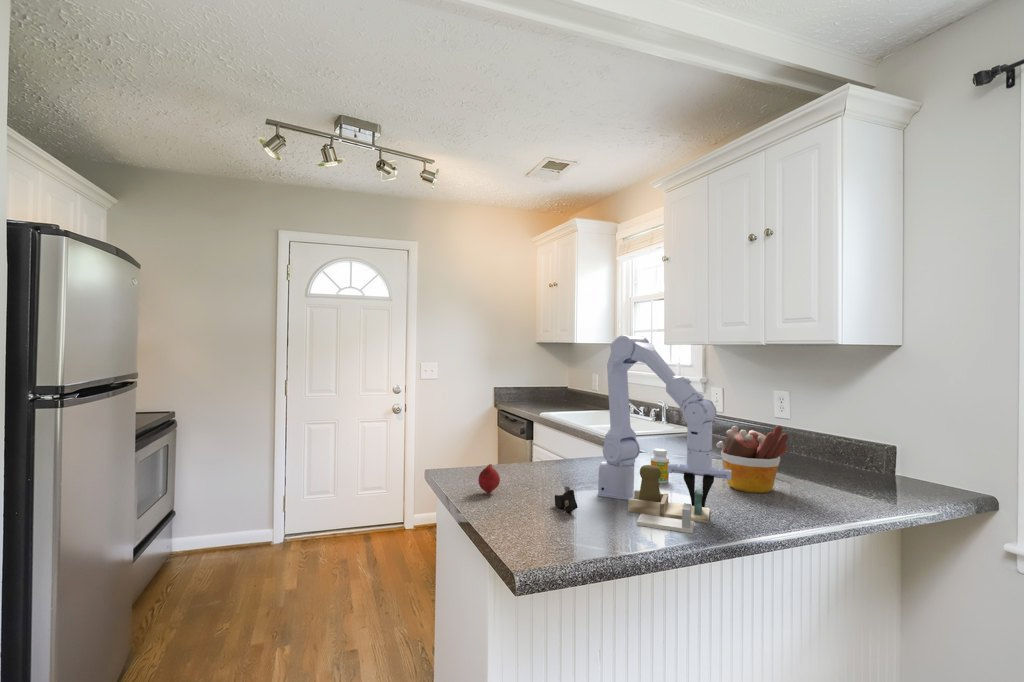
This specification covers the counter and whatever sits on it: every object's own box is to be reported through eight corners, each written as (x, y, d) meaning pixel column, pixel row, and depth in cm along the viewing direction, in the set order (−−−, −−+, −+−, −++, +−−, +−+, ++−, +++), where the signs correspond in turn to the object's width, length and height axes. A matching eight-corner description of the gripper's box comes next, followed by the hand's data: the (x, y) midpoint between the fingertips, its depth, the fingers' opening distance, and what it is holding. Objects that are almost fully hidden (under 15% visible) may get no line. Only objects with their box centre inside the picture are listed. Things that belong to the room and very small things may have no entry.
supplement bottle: (656, 483, 153) (657, 451, 154) (647, 479, 159) (647, 448, 159) (672, 483, 155) (672, 451, 155) (662, 478, 160) (662, 447, 160)
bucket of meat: (705, 482, 156) (706, 418, 157) (743, 478, 163) (744, 416, 163) (760, 501, 138) (761, 427, 138) (801, 495, 145) (802, 425, 145)
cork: (659, 506, 130) (659, 463, 131) (664, 513, 124) (665, 468, 125) (635, 505, 131) (636, 462, 131) (639, 512, 125) (640, 467, 125)
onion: (489, 497, 134) (490, 467, 134) (473, 493, 138) (474, 464, 138) (503, 493, 139) (504, 463, 139) (487, 489, 142) (488, 460, 143)
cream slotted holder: (628, 511, 125) (628, 487, 125) (634, 501, 134) (635, 479, 134) (708, 523, 118) (709, 498, 118) (709, 511, 127) (710, 487, 127)
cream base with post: (636, 524, 115) (637, 503, 115) (640, 517, 121) (641, 497, 121) (692, 533, 111) (693, 511, 111) (694, 525, 116) (694, 504, 116)
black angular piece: (555, 518, 127) (550, 496, 130) (563, 517, 128) (558, 495, 131) (569, 508, 120) (564, 484, 123) (578, 507, 121) (572, 484, 124)
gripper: (666, 449, 123) (665, 505, 122) (731, 455, 117) (730, 514, 117) (669, 444, 129) (668, 498, 129) (731, 450, 124) (730, 506, 123)
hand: (698, 505), depth 123 cm, fingers closed on cream slotted holder, 2 cm apart
